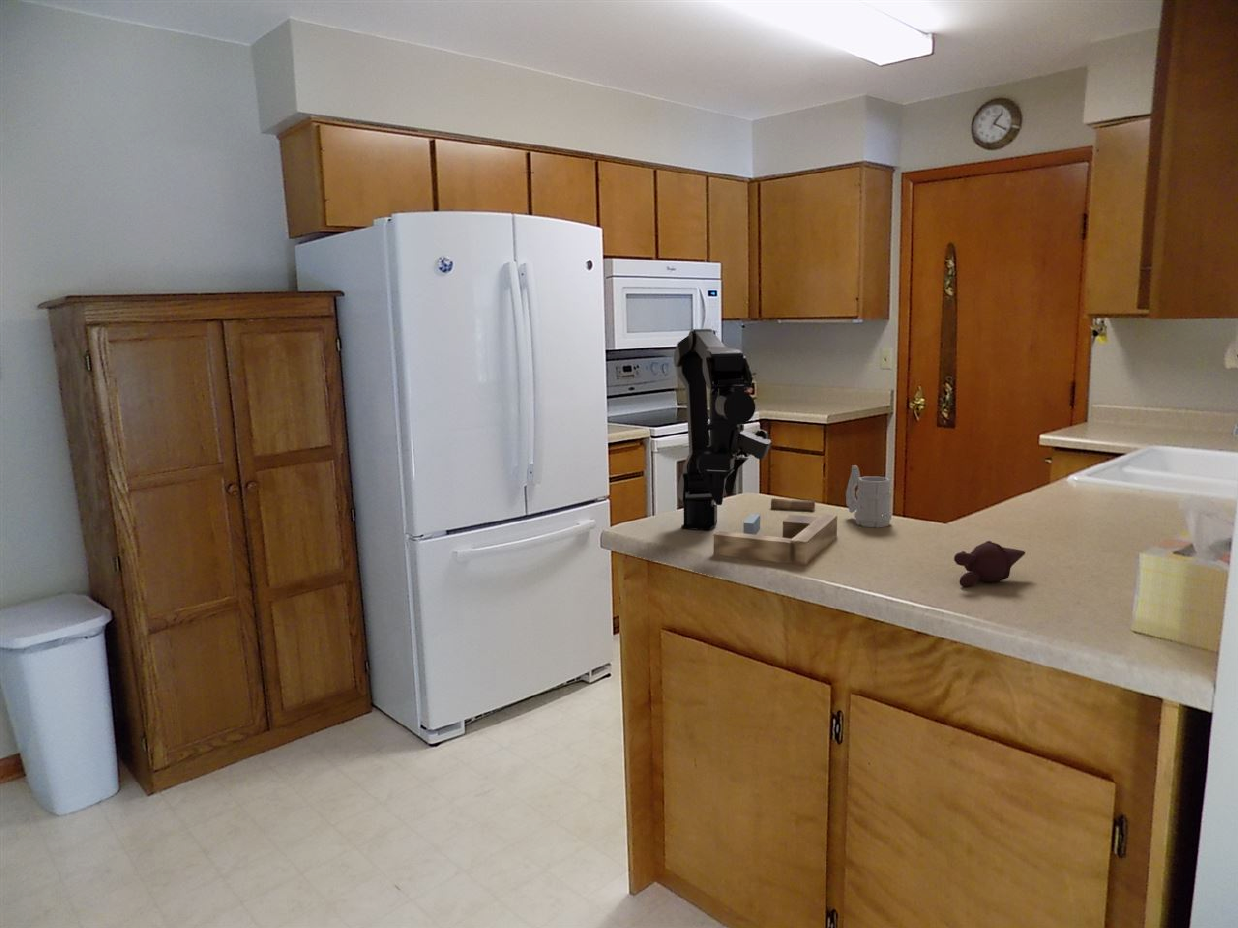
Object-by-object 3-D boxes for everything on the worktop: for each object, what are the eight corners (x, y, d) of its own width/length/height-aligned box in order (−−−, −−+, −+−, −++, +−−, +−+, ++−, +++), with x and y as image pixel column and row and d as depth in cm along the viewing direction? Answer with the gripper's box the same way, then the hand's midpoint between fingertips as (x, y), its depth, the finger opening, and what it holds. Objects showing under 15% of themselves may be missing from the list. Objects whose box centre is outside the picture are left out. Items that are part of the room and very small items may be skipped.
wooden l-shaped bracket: (713, 554, 156) (713, 531, 155) (753, 527, 175) (753, 507, 174) (805, 565, 147) (806, 541, 146) (836, 536, 166) (837, 515, 166)
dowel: (772, 496, 193) (772, 504, 194) (770, 503, 191) (771, 511, 193) (815, 498, 190) (815, 506, 191) (813, 505, 188) (814, 513, 189)
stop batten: (743, 536, 168) (743, 522, 167) (751, 527, 175) (751, 513, 174) (753, 537, 167) (753, 523, 166) (760, 528, 174) (760, 514, 174)
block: (782, 540, 165) (782, 521, 164) (789, 533, 170) (789, 514, 170) (812, 543, 162) (812, 523, 162) (818, 535, 168) (818, 517, 167)
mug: (872, 529, 171) (873, 473, 169) (833, 518, 182) (835, 465, 180) (898, 524, 174) (900, 470, 172) (859, 514, 185) (861, 462, 183)
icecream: (1002, 532, 142) (937, 550, 137) (1037, 531, 135) (970, 550, 130) (1011, 571, 142) (945, 591, 136) (1046, 572, 135) (979, 593, 130)
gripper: (758, 425, 140) (757, 513, 143) (776, 413, 157) (775, 492, 160) (695, 423, 144) (696, 509, 146) (720, 412, 161) (720, 489, 164)
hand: (724, 499), depth 154 cm, fingers open, 9 cm apart
